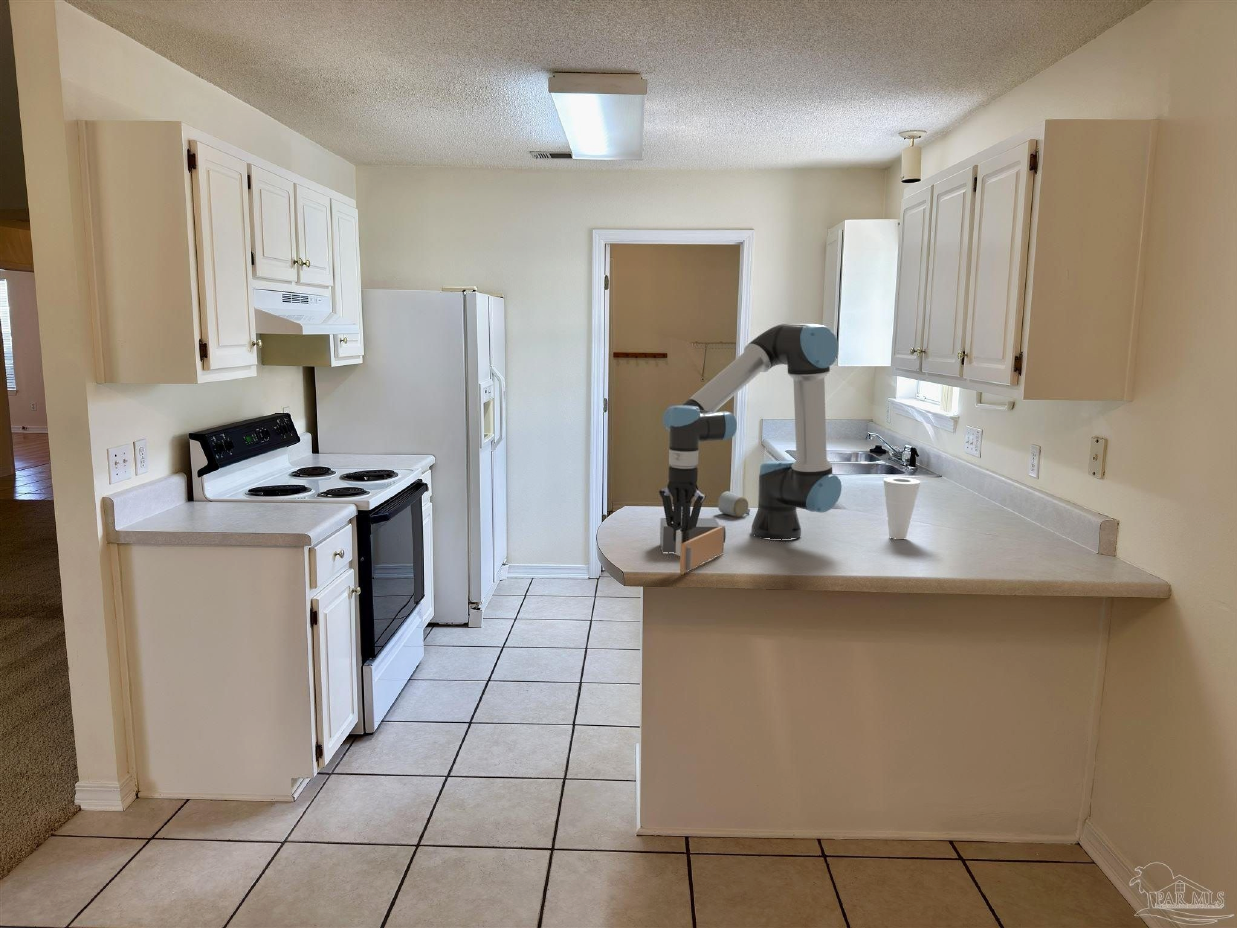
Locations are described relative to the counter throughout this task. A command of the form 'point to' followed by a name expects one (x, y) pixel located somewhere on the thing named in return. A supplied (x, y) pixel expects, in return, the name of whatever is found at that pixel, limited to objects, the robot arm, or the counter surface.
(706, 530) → the camera housing
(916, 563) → the counter surface
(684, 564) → the door
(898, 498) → the cup
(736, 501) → the ceramic mug
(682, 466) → the robot arm
